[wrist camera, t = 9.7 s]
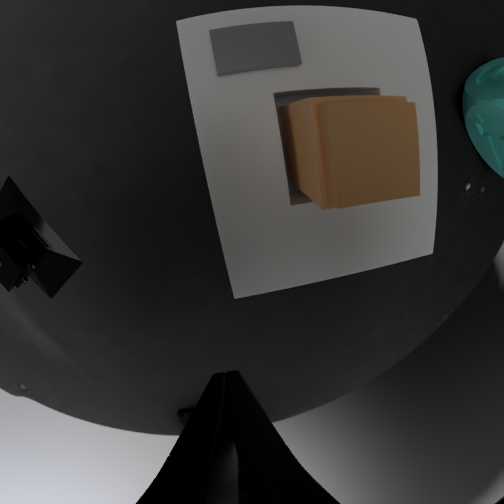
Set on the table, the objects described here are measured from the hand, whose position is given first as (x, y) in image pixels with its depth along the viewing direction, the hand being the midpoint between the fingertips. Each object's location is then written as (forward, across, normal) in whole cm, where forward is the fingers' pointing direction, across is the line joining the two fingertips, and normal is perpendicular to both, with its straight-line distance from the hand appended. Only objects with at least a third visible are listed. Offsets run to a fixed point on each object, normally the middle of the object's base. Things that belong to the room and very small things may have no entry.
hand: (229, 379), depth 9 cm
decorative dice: (+11, -24, -8) cm, 28 cm away
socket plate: (+11, -7, -6) cm, 14 cm away
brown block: (+11, -7, -6) cm, 14 cm away
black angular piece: (+12, +15, -4) cm, 20 cm away
